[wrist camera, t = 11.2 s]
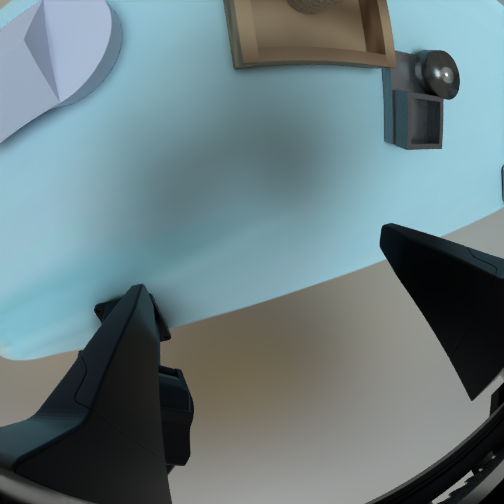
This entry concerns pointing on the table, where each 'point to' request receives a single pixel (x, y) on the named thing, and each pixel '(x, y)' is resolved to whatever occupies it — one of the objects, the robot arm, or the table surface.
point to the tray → (310, 34)
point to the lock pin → (311, 5)
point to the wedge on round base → (54, 57)
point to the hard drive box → (503, 183)
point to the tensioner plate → (418, 98)
